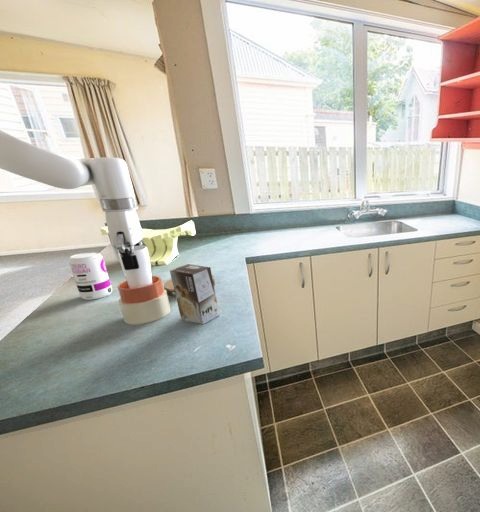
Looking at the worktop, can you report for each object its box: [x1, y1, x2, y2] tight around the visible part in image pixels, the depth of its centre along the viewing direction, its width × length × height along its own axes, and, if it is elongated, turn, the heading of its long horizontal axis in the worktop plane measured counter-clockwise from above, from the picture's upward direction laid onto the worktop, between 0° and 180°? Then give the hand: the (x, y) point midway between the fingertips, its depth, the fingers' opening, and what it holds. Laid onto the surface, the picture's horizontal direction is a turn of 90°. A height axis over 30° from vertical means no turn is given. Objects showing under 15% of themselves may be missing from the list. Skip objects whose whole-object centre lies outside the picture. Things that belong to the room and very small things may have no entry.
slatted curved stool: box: [100, 220, 197, 266], centre depth 138 cm, size 30×16×18 cm, turn 104°
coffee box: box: [169, 263, 220, 325], centre depth 89 cm, size 9×6×16 cm
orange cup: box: [117, 275, 164, 304], centre depth 90 cm, size 10×10×11 cm
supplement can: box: [68, 251, 113, 301], centre depth 102 cm, size 8×8×15 cm
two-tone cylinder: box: [118, 288, 172, 325], centre depth 91 cm, size 12×12×6 cm
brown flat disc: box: [163, 274, 216, 298], centre depth 111 cm, size 16×16×3 cm
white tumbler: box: [117, 245, 153, 289], centre depth 88 cm, size 7×7×15 cm
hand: (136, 264), depth 87 cm, fingers closed on white tumbler, 6 cm apart
